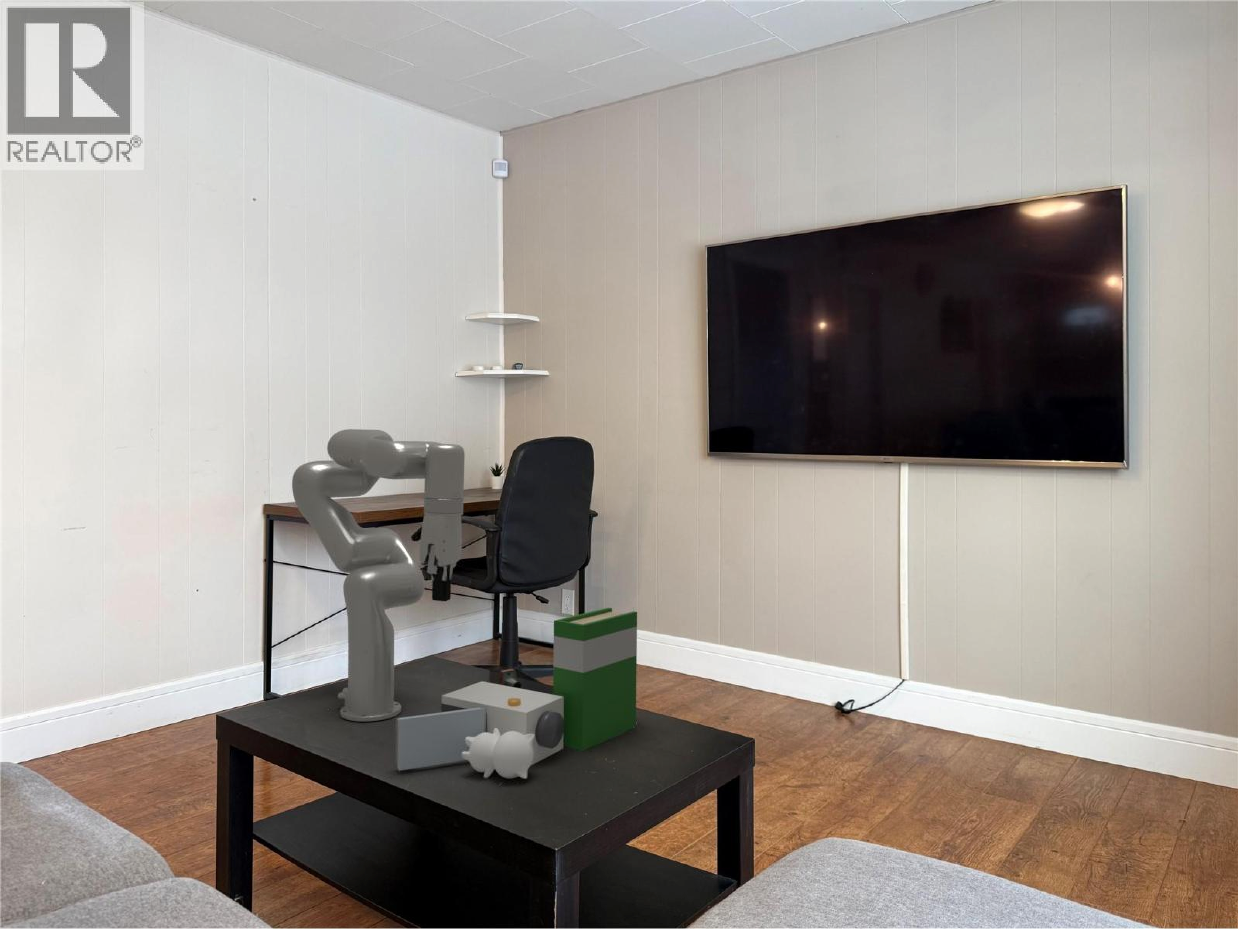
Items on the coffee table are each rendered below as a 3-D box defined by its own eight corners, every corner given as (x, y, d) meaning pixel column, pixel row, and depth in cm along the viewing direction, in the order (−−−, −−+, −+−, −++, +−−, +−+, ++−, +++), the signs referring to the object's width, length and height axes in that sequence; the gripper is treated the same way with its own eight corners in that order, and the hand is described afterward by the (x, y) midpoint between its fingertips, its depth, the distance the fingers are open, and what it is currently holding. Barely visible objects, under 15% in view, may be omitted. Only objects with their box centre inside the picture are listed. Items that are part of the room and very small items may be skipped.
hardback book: (607, 720, 186) (608, 607, 186) (635, 727, 182) (637, 612, 181) (552, 743, 172) (553, 620, 172) (582, 751, 168) (583, 625, 167)
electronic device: (510, 709, 193) (510, 675, 193) (485, 700, 201) (485, 667, 200) (526, 706, 196) (526, 672, 196) (501, 696, 204) (501, 664, 203)
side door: (399, 770, 155) (399, 719, 155) (395, 765, 157) (395, 715, 157) (486, 756, 162) (486, 708, 162) (481, 752, 164) (482, 704, 164)
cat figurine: (466, 719, 156) (528, 724, 152) (489, 736, 165) (549, 741, 161) (454, 770, 152) (518, 777, 148) (479, 784, 160) (540, 791, 157)
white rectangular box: (441, 747, 169) (441, 691, 169) (481, 730, 179) (481, 677, 179) (534, 770, 158) (535, 710, 157) (571, 750, 168) (572, 694, 168)
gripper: (442, 503, 181) (440, 592, 182) (408, 509, 166) (405, 605, 167) (476, 505, 179) (474, 594, 180) (445, 511, 164) (442, 609, 165)
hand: (441, 599), depth 173 cm, fingers closed
